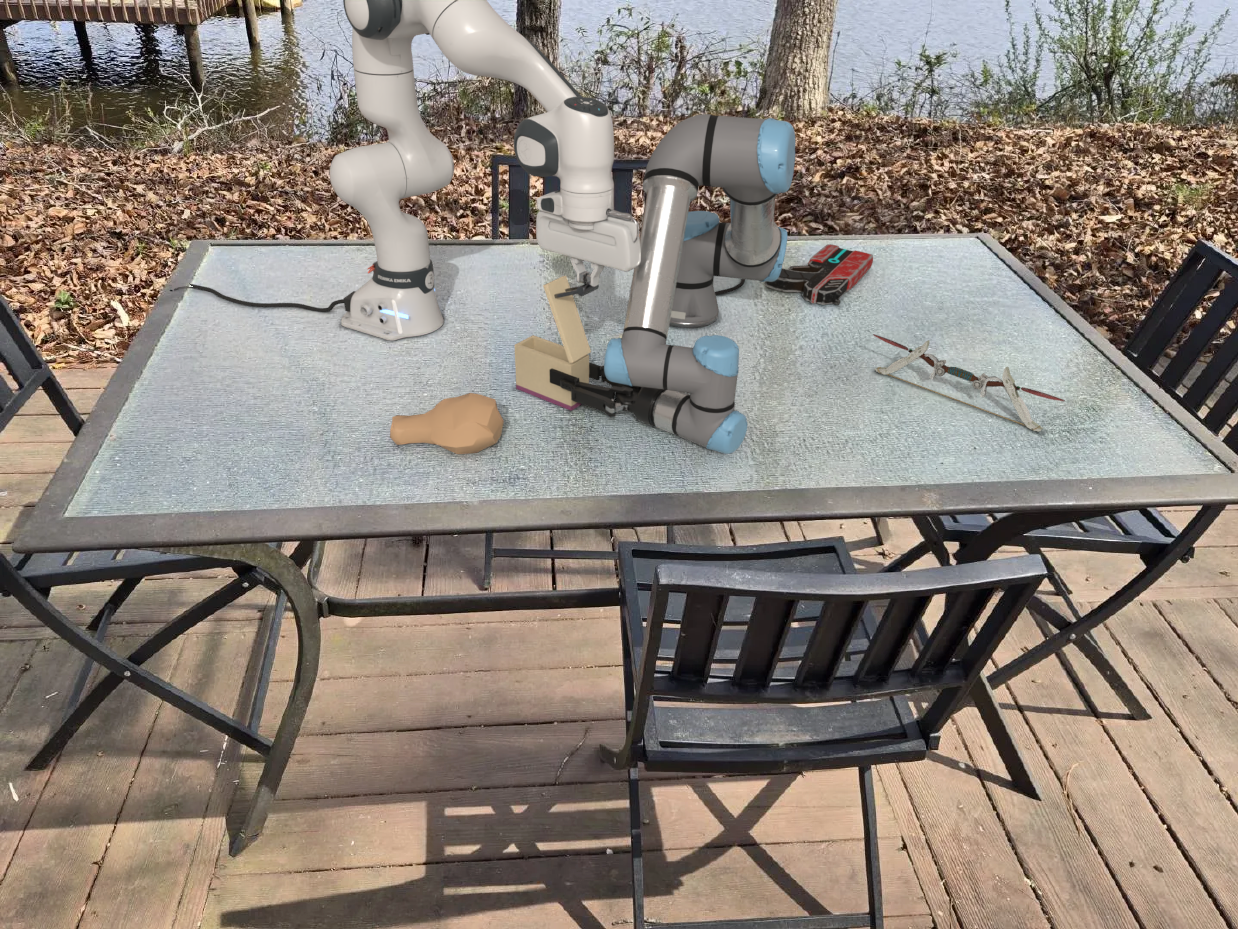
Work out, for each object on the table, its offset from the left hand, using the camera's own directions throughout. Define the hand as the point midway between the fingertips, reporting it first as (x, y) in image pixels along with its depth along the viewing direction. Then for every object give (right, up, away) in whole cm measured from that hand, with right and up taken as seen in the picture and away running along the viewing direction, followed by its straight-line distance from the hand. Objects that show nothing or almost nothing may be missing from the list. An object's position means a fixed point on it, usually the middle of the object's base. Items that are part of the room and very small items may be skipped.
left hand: (588, 283), depth 153 cm
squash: (-25, -28, +2) cm, 37 cm away
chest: (-8, -18, +18) cm, 26 cm away
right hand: (-5, -13, +13) cm, 20 cm away
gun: (+57, +15, +70) cm, 91 cm away
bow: (+71, -19, +20) cm, 76 cm away
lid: (-4, -5, +7) cm, 10 cm away
